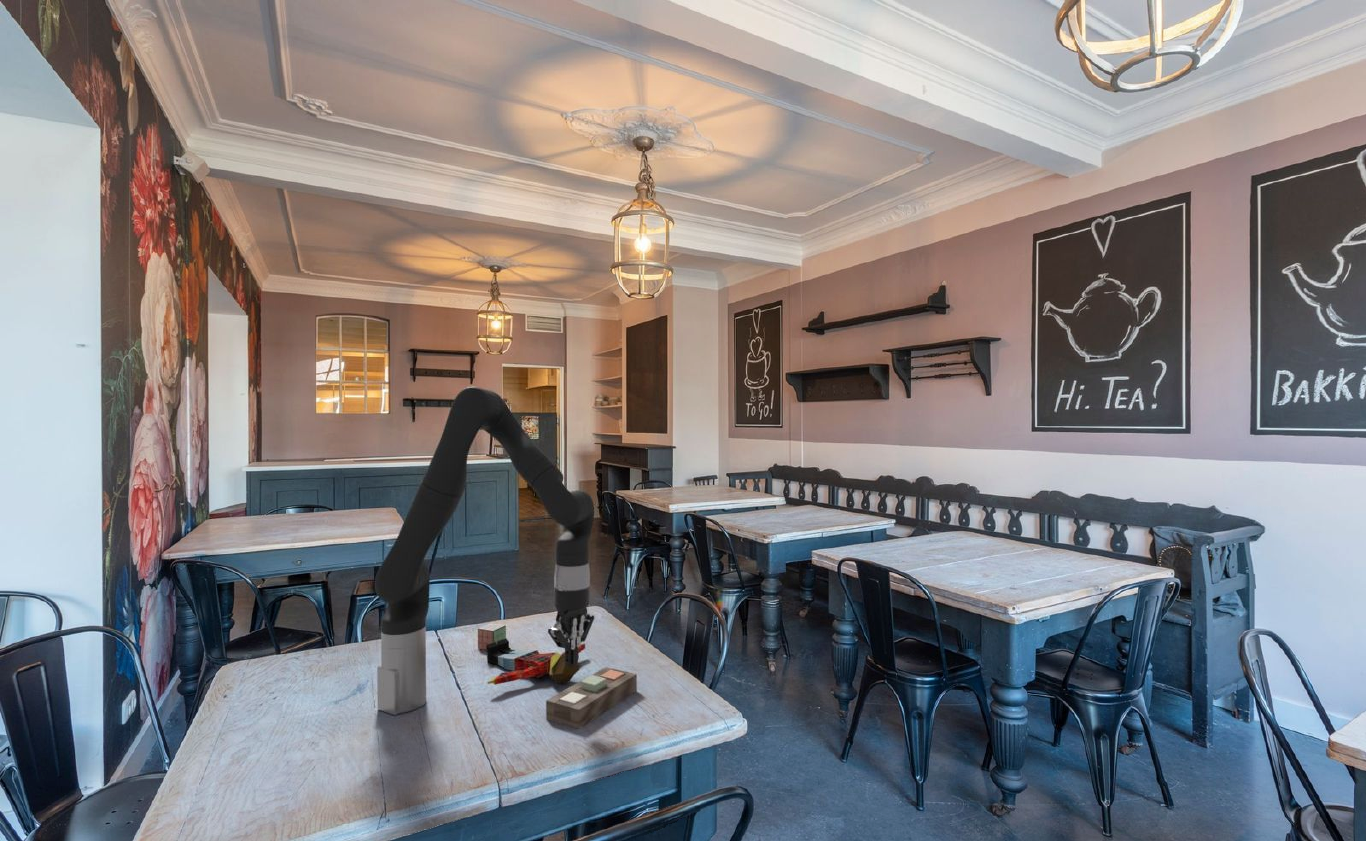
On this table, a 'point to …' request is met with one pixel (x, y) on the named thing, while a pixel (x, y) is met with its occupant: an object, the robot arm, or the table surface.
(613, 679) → the terracotta button
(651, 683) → the table surface
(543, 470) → the robot arm
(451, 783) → the table surface
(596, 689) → the sage button
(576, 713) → the button board
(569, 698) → the cream button
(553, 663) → the toy
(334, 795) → the table surface
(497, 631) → the puzzle toy
